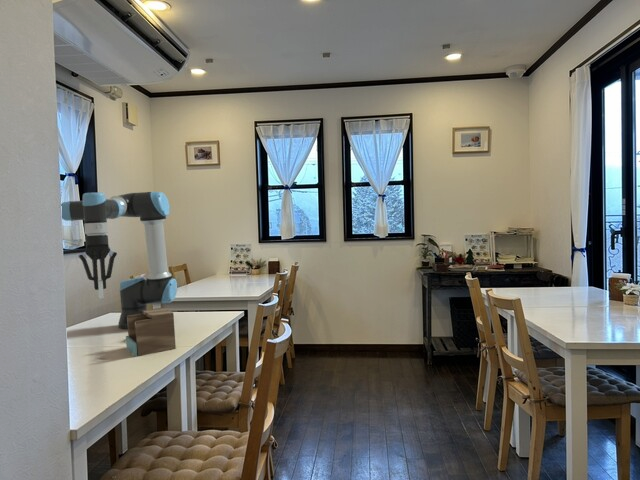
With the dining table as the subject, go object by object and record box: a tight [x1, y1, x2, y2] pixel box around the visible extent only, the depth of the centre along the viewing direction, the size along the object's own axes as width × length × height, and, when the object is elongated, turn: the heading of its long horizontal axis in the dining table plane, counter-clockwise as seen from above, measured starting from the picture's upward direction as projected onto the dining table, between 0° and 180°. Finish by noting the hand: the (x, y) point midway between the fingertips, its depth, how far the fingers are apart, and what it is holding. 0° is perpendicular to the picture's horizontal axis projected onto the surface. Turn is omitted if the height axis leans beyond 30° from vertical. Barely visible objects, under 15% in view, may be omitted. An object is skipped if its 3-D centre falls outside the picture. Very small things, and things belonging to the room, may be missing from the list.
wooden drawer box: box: [127, 307, 177, 357], centre depth 179 cm, size 15×14×14 cm
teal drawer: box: [125, 335, 138, 357], centre depth 179 cm, size 14×13×5 cm
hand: (101, 298), depth 169 cm, fingers closed
